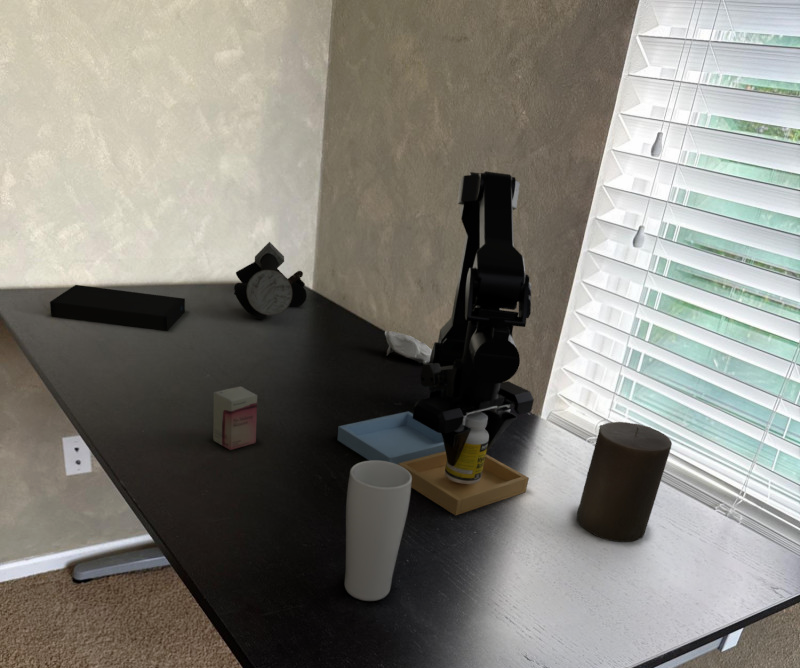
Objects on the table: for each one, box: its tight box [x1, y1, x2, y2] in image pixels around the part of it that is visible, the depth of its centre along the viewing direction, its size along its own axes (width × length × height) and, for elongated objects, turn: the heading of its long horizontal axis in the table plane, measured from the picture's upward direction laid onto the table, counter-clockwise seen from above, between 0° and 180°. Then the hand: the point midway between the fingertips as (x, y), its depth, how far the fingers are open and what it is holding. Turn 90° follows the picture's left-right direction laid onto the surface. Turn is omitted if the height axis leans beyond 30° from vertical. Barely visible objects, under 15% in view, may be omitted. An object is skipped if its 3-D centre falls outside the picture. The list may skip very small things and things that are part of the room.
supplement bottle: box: [445, 412, 489, 484], centre depth 117 cm, size 5×5×10 cm
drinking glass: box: [343, 460, 412, 602], centre depth 90 cm, size 7×7×15 cm
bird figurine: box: [384, 329, 433, 365], centre depth 165 cm, size 5×7×10 cm
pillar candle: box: [576, 421, 673, 542], centre depth 111 cm, size 10×10×15 cm
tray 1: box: [337, 410, 445, 465], centre depth 128 cm, size 15×13×2 cm
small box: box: [212, 386, 258, 451], centre depth 121 cm, size 5×4×8 cm
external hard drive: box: [49, 284, 186, 332], centre depth 168 cm, size 14×23×3 cm, turn 89°
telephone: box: [233, 241, 308, 320], centre depth 184 cm, size 15×13×30 cm
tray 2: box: [398, 451, 530, 516], centre depth 119 cm, size 15×13×2 cm
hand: (465, 460), depth 118 cm, fingers closed on supplement bottle, 5 cm apart
